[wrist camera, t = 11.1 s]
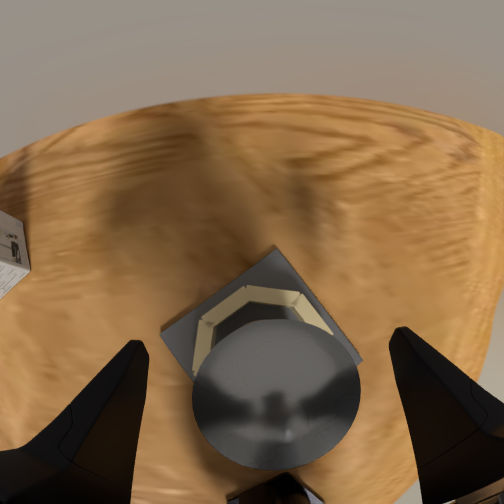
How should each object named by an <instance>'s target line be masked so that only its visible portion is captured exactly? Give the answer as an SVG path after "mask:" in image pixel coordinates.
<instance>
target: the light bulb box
mask: <svg viewBox="0 0 504 504" xmlns="http://www.w3.org/2000/svg"><path fill="white" fill-rule="evenodd" d="M29 272H30V265H29V260H28V255H27V249H26V243H25V237H24V230H23V222H21V221H19V220H18V219H16V218H14V217H12V216H10V215H8V214H6V213H5V212H3V211H1V210H0V299H1V298H2V297H3V296H4V295H5V294H6V293H7V292H8V291H10V290H11V289H12V288H13V287H14V286H15V285H16V284H17V283H18V282H19V281H20V280H21V279H22V278H23V277H25V276H26V275H27V274H28V273H29Z"/></svg>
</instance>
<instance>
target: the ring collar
mask: <svg viewBox="0 0 504 504" xmlns="http://www.w3.org/2000/svg"><path fill="white" fill-rule="evenodd" d="M272 319H287V320H297V321H301V322H306V323H309V324H312V325H314V326H317V327H319V328H321V329H323V330H325V331H327V332H328V333H329V334H331V335H332V336H334V337H335V338H336V339H337V340H338V341H339V342H340V343H342V344H343V346H344V347H345V348H346V349H347V351H348V352H349V353H350V355H351V357H352V359H353V360H354V362H355V365H356V366H357V365H358V364H359V363H361V362H362V361H363V359H362V358H361V357H360V355H359V354H358V353H357V351H356V350H355V349H354V347H353V346H352V345H351V343H350V342H349V341H348V339H347V338H346V337H345V335H344V334H343V333H342V331H341V330H340V329H339V327H338V326H337V325H336V324H335V322H334V321H333V320H332V318H331V317H330V316H329V314H328V313H327V312H326V310H325V309H324V308H323V307H322V305H321V304H320V303H319V301H318V300H317V299H316V298H315V296H314V295H313V294H312V292H311V291H310V290H309V289H308V287H307V286H306V285H305V283H304V282H303V281H302V280H301V278H300V277H299V276H298V274H297V273H296V272H295V271H294V269H293V268H292V267H291V266H290V264H289V263H288V262H287V261H286V259H285V258H284V257H283V255H282V254H281V253H280V252H279V250H278V249H275V250H274V251H273V252H271V253H270V254H269V255H267V256H266V257H265V258H263V259H262V260H260V261H259V262H258V263H256V264H255V265H254V266H252V267H251V268H250V269H248V270H247V271H246V272H244V273H243V274H241V275H240V276H239V277H237V278H236V279H235V280H233V281H232V282H231V283H229V284H228V285H226V286H225V287H224V288H222V289H221V290H220V291H218V292H217V293H216V294H214V295H213V296H211V297H210V298H209V299H207V300H206V301H205V302H203V303H202V304H200V305H199V306H198V307H196V308H195V309H194V310H192V311H191V312H189V313H188V314H187V315H185V316H184V317H182V318H181V319H180V320H178V321H177V322H176V323H174V324H173V325H171V326H170V327H169V328H167V329H166V330H164V331H163V332H162V333H160V334H159V335H160V336H161V338H162V339H163V341H164V342H165V344H166V345H167V347H168V348H169V350H170V351H171V352H172V354H173V355H174V357H175V358H176V360H177V361H178V362H179V364H180V365H181V366H182V368H183V369H184V370H185V372H186V373H187V374H188V376H189V377H190V378H191V380H192V381H193V382H194V381H195V377H196V375H197V372H198V370H199V367H200V366H201V364H202V362H203V360H204V359H205V357H206V356H207V355H208V353H209V352H210V351H211V350H212V349H213V348H214V347H215V346H216V345H217V344H218V343H219V342H220V341H221V340H223V339H224V338H225V337H227V336H228V335H229V334H231V333H232V332H234V331H235V330H237V329H239V328H240V327H242V326H243V325H245V324H247V323H249V322H251V321H255V320H272Z"/></svg>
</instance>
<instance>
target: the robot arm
mask: <svg viewBox="0 0 504 504" xmlns="http://www.w3.org/2000/svg"><path fill="white" fill-rule="evenodd" d="M389 351H390V356H391V360H392V365H393V370H394V375H395V380H396V384H397V388H398V391H399V395H400V398H401V402H402V405H403V409H404V412H405V416H406V420H407V424H408V428H409V432H410V436H411V441H412V445H413V450H414V455H415V460H416V465H417V471H418V476H419V482H420V489H421V495H422V503H423V504H443V503H446V502H449V501H452V500H455V501H454V502H452V503H450V504H504V403H502V402H501V401H500V400H498V399H497V398H495V397H494V396H492V395H491V394H490V393H489V392H487V391H486V390H484V389H483V388H482V387H481V386H480V385H478V384H477V383H476V382H475V381H474V380H472V379H471V378H470V377H469V376H467V375H466V374H465V373H464V372H463V371H461V370H460V369H459V368H458V367H457V366H455V365H454V364H453V363H452V362H451V361H449V360H448V359H447V358H446V357H444V356H443V355H442V354H441V353H439V352H438V351H437V350H436V349H434V348H433V347H432V346H431V345H429V344H428V343H427V342H426V341H424V340H423V339H422V338H421V337H419V336H418V335H417V334H415V333H414V332H413V331H412V330H410V329H409V328H408V327H406V326H403V327H398V328H396V329H395V331H394V333H393V335H392V337H391V339H390V341H389ZM148 368H149V354H148V352H147V350H146V348H145V346H144V343H143V342H142V341H141V340H130V341H129V342H128V343H127V344H126V345H125V346H124V347H123V348H122V349H121V350H120V351H119V352H118V353H117V354H116V355H115V356H114V357H113V358H112V359H111V360H110V361H109V363H108V364H107V365H106V366H105V367H104V368H103V369H102V370H101V371H100V372H99V373H98V374H97V375H96V376H95V377H94V378H93V379H92V380H91V381H90V382H89V383H88V385H87V386H86V387H85V388H84V389H83V390H82V391H81V392H80V393H79V394H78V395H77V396H76V397H75V398H74V399H73V400H72V402H71V403H70V404H69V405H68V406H67V407H66V408H65V409H64V410H63V411H62V412H61V413H60V414H59V415H58V416H57V417H56V418H55V419H54V420H53V421H52V422H51V423H50V424H49V425H48V426H47V427H46V428H44V429H43V430H42V431H41V432H40V433H39V434H37V435H36V436H35V437H34V438H33V439H32V440H31V441H29V442H28V443H27V444H25V445H24V446H22V447H20V448H17V449H11V450H5V451H0V504H130V501H131V490H132V481H133V473H134V465H135V458H136V451H137V444H138V438H139V432H140V426H141V421H142V415H143V410H144V405H145V399H146V390H147V379H148ZM284 477H288V478H286V479H284ZM231 503H234V504H325V503H324V502H323V501H322V500H321V499H319V498H318V497H317V496H316V495H315V494H313V493H312V492H311V491H310V490H309V489H307V488H306V487H305V486H304V485H303V484H302V483H301V482H299V481H298V480H297V479H296V478H295V477H294V476H293V475H292V474H291V473H288V472H284V473H282V474H280V475H278V476H277V477H275V478H273V479H271V480H269V481H267V482H265V483H261V484H259V485H257V486H255V487H253V488H251V489H249V490H247V491H245V492H243V493H241V494H240V495H239V496H236V497H234V498H232V499H229V500H228V501H227V504H231Z"/></svg>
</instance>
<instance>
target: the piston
mask: <svg viewBox="0 0 504 504" xmlns="http://www.w3.org/2000/svg"><path fill="white" fill-rule="evenodd" d="M360 394H361V387H360V378H359V374H358V370H357V367H356V365H355V362H354V360H353V359H352V357H351V355H350V353H349V352H348V351H347V349H346V348H345V347H344V346H343V344H342V343H340V342H339V341H338V340H337V339H336V338H335V337H334V336H332V335H331V334H329V333H328V332H327V331H325V330H323V329H321V328H319V327H317V326H314V325H312V324H309V323H306V322H301V321H297V320H287V319H272V320H255V321H251V322H249V323H247V324H245V325H243V326H242V327H240V328H239V329H237V330H235V331H234V332H232V333H231V334H229V335H228V336H227V337H225V338H224V339H223V340H221V341H220V342H219V343H218V344H217V345H216V346H215V347H214V348H213V349H212V350H211V351H210V352H209V353H208V355H207V356H206V357H205V359H204V360H203V362H202V364H201V366H200V367H199V370H198V372H197V375H196V377H195V381H194V385H193V393H192V404H193V411H194V416H195V419H196V422H197V424H198V427H199V429H200V430H201V432H202V434H203V436H204V437H205V438H206V440H207V441H208V442H209V443H210V444H211V445H212V446H213V447H214V448H215V449H216V450H217V451H218V452H219V453H221V454H222V455H223V456H225V457H226V458H228V459H230V460H231V461H233V462H236V463H238V464H240V465H243V466H246V467H250V468H254V469H260V470H285V469H291V468H296V467H299V466H302V465H305V464H308V463H310V462H312V461H314V460H316V459H318V458H320V457H322V456H323V455H325V454H326V453H327V452H329V451H330V450H331V449H333V448H334V447H335V446H336V445H337V444H338V443H339V442H340V441H341V440H342V438H343V437H344V436H345V435H346V433H347V432H348V430H349V429H350V427H351V425H352V423H353V421H354V419H355V417H356V414H357V411H358V408H359V403H360Z"/></svg>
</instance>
